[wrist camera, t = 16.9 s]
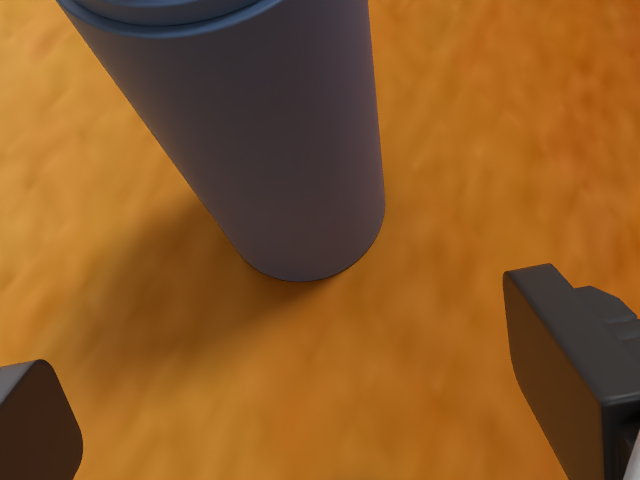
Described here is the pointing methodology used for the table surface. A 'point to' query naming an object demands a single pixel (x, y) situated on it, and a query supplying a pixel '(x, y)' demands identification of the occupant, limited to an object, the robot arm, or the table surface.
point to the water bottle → (257, 117)
